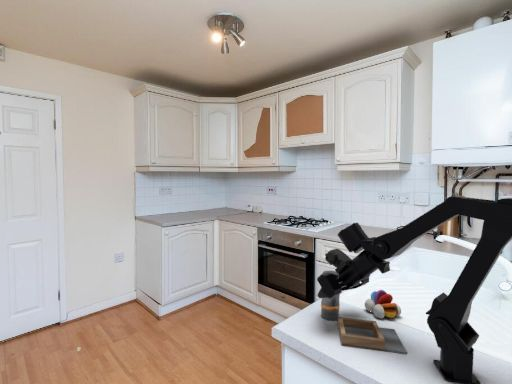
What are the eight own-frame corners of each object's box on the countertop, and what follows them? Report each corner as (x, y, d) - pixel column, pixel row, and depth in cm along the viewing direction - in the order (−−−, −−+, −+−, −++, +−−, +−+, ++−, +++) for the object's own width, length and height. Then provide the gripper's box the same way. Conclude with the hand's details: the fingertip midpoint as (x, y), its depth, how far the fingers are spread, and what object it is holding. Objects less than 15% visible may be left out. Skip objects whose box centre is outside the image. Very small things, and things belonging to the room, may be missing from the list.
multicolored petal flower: (381, 323, 82) (382, 298, 81) (360, 308, 91) (361, 286, 91) (405, 320, 84) (406, 296, 84) (382, 306, 93) (383, 284, 93)
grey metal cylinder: (339, 321, 82) (341, 276, 81) (320, 319, 83) (322, 275, 82) (338, 313, 87) (339, 271, 86) (320, 311, 88) (321, 269, 87)
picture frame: (407, 354, 67) (407, 343, 67) (341, 345, 70) (341, 335, 70) (394, 330, 77) (394, 321, 77) (337, 323, 80) (338, 315, 80)
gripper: (361, 238, 87) (330, 265, 96) (324, 246, 75) (292, 275, 84) (385, 270, 81) (349, 295, 90) (349, 283, 69) (312, 311, 78)
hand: (326, 293), depth 86 cm, fingers open, 8 cm apart
